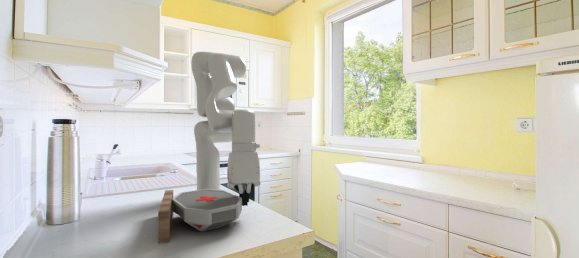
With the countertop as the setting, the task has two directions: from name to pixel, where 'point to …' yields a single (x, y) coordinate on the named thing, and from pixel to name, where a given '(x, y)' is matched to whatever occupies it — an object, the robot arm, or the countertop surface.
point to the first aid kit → (207, 208)
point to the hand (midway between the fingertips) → (244, 204)
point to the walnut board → (165, 217)
